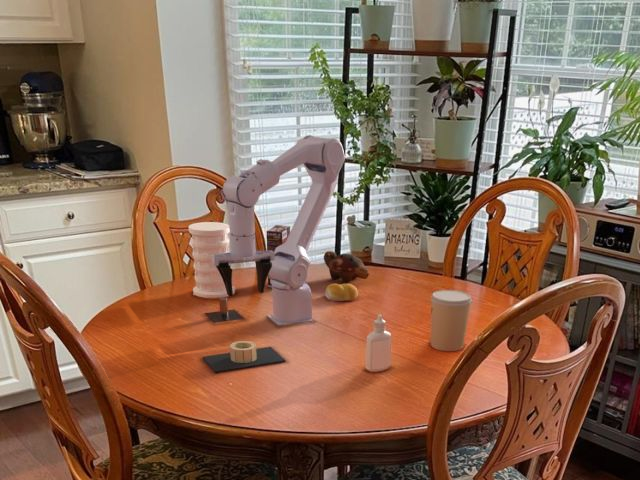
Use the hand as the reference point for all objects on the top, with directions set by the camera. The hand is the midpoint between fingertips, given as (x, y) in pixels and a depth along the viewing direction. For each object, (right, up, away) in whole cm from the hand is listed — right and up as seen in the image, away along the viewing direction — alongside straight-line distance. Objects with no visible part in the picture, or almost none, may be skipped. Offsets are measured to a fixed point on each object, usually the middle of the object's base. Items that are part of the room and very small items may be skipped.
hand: (245, 293), depth 168 cm
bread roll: (+22, +7, +30) cm, 38 cm away
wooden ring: (+1, -17, -11) cm, 20 cm away
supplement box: (+4, +13, +40) cm, 42 cm away
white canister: (+48, -12, +1) cm, 49 cm away
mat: (+1, -18, -11) cm, 21 cm away
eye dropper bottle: (+31, -20, -12) cm, 39 cm away
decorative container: (-14, +8, +31) cm, 35 cm away
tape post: (-7, -3, +13) cm, 15 cm away
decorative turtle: (+23, +16, +45) cm, 53 cm away
